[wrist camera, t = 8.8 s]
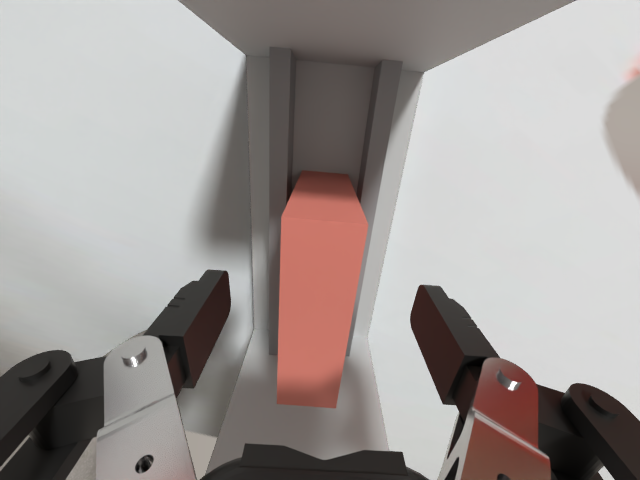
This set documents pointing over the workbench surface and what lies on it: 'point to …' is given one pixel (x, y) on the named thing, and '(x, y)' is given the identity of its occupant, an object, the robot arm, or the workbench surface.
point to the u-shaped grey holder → (333, 171)
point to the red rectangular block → (317, 286)
